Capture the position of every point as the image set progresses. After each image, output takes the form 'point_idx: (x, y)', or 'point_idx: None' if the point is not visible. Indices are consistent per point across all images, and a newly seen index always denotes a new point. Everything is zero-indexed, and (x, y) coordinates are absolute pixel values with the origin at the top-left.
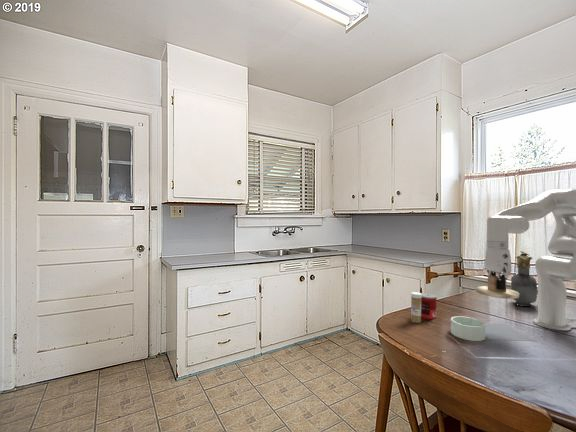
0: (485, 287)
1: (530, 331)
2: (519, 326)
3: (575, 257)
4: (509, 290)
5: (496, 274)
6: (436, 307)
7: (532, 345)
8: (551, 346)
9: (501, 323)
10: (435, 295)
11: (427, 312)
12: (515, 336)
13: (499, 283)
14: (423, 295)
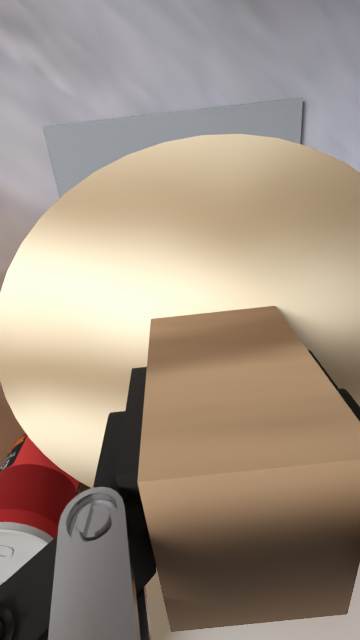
0: (80, 422)
1: (133, 3)
2: (48, 24)
3: None
4: (182, 209)
5: (132, 559)
6: (37, 469)
7: (333, 155)
8: (351, 44)
9: (50, 148)
10: (3, 532)
11: (78, 487)
12: None
13: None
14: (14, 567)
